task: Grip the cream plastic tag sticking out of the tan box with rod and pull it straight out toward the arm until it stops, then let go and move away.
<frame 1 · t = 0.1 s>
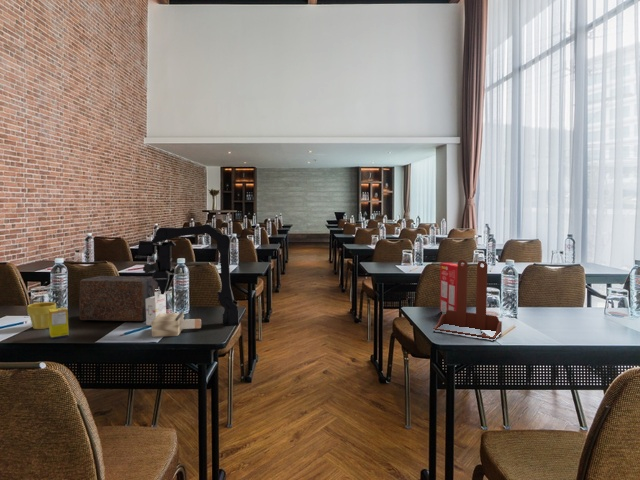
hand: (164, 292, 186), 15 cm above the table, tool pointing down, fingers open, 9 cm apart
decorative box: (121, 319, 200), on the table
hanging shelf: (466, 333, 179), on the table
supplement box: (58, 337, 170), on the table
food packaging: (452, 316, 209), on the table
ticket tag: (180, 324, 178), point 3 cm above the table, slide at 0.0 cm
plant pot: (42, 327, 183), on the table
tan box with rod: (168, 331, 178), on the table
ink cartridge box: (156, 323, 191), on the table
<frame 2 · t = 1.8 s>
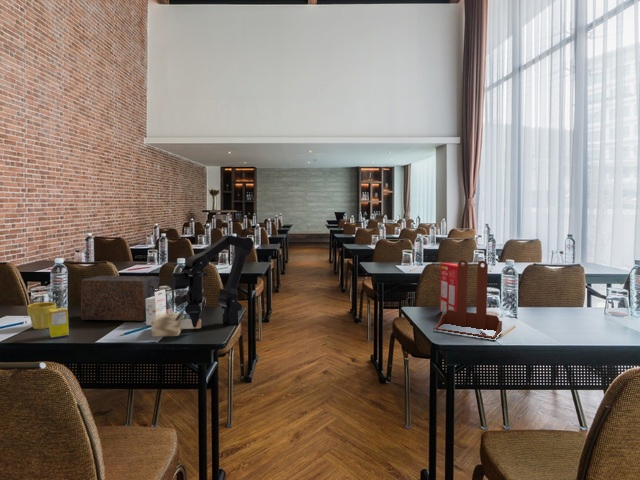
hand: (196, 324, 179), 3 cm above the table, tool pointing down, fingers open, 9 cm apart
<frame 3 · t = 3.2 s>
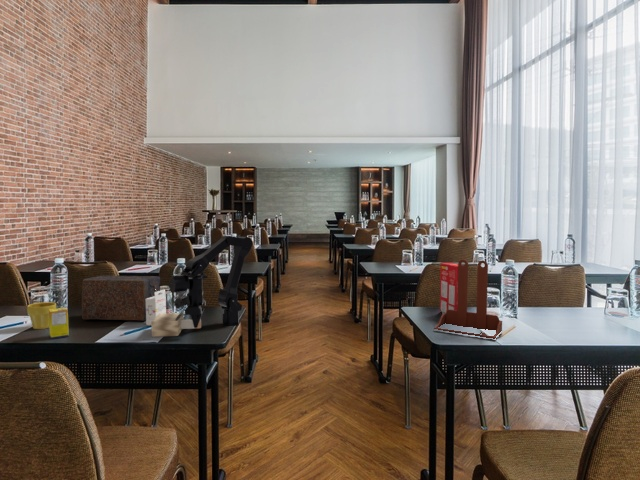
hand: (195, 327, 179), 2 cm above the table, tool pointing down, fingers closed on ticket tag
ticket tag: (180, 324, 178), point 3 cm above the table, slide at 0.0 cm, touching gripper
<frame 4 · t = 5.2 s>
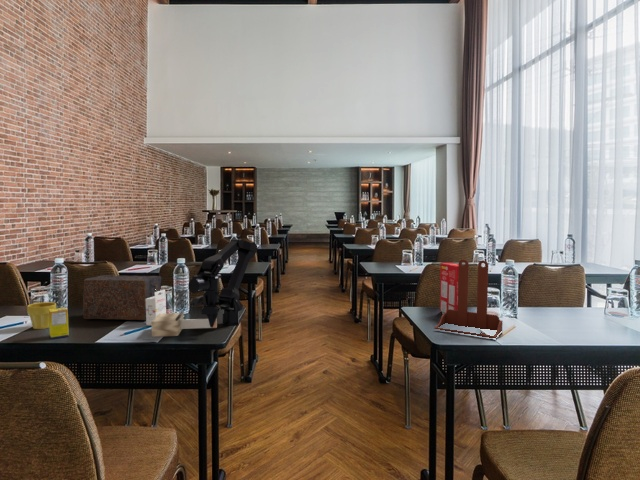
hand: (211, 326, 180), 1 cm above the table, tool pointing down, fingers closed on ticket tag
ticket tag: (197, 323, 179), point 3 cm above the table, slide at 6.4 cm, touching gripper
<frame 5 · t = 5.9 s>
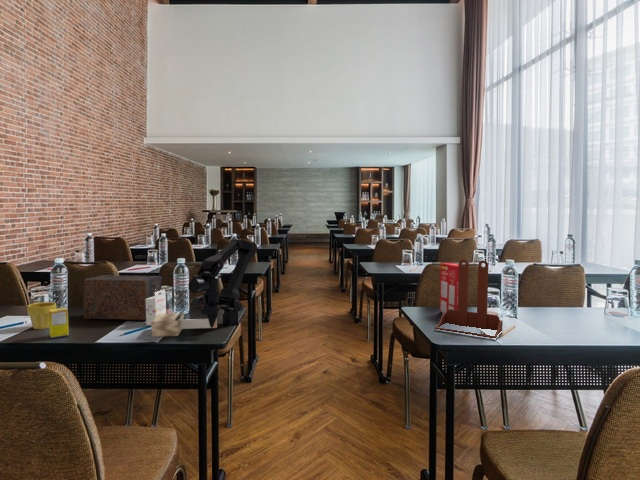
hand: (211, 326, 180), 1 cm above the table, tool pointing down, fingers closed on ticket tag
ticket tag: (197, 323, 179), point 3 cm above the table, slide at 6.5 cm, touching gripper
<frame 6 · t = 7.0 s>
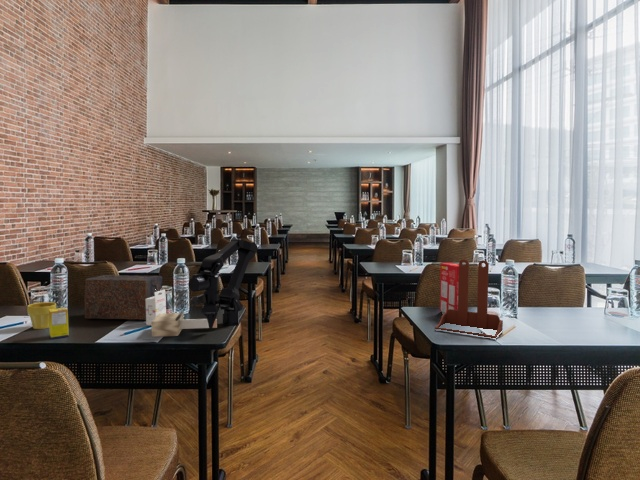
hand: (211, 325, 180), 2 cm above the table, tool pointing down, fingers open, 9 cm apart
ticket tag: (197, 323, 179), point 3 cm above the table, slide at 6.5 cm
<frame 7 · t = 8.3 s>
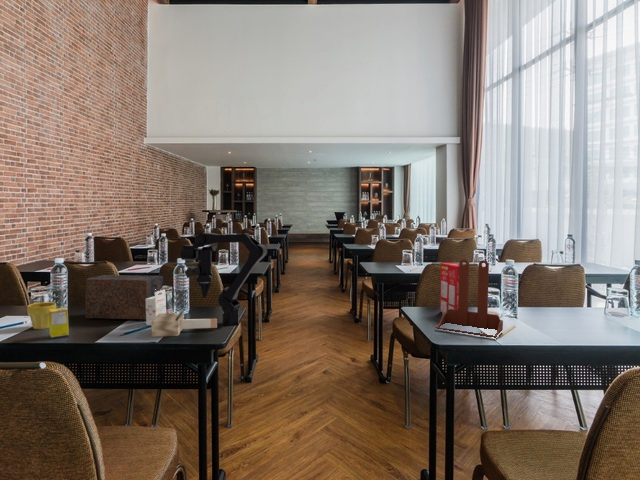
hand: (204, 295, 193), 12 cm above the table, tool pointing down, fingers open, 9 cm apart
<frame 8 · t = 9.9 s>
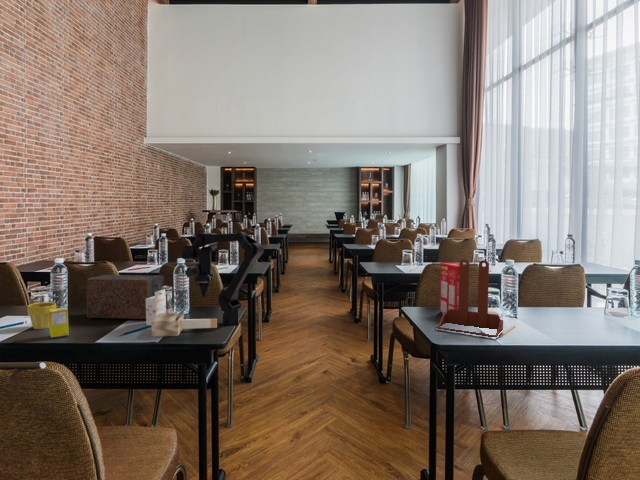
hand: (205, 294, 195), 12 cm above the table, tool pointing down, fingers open, 9 cm apart
at the end: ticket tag slide at 6.5 cm; the gripper is holding nothing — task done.
